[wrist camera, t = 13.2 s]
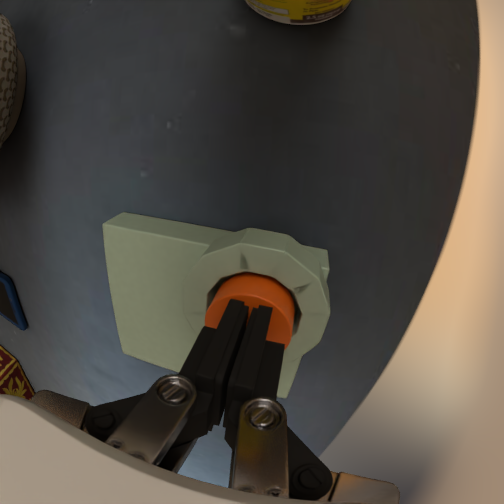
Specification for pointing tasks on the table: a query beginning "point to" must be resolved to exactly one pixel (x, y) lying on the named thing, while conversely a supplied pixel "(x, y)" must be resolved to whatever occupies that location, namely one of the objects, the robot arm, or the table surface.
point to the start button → (256, 303)
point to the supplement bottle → (299, 10)
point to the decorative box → (13, 377)
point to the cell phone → (10, 303)
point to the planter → (10, 79)
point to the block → (204, 284)
